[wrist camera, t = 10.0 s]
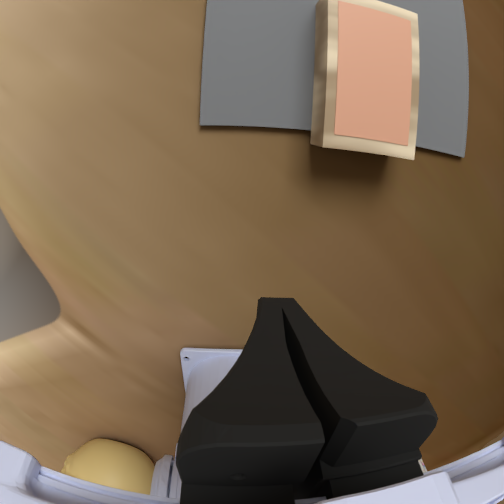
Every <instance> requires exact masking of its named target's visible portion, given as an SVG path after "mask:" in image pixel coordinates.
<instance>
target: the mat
mask: <svg viewBox="0 0 504 504" xmlns="http://www.w3.org/2000/svg"><path fill="white" fill-rule="evenodd" d="M318 1H319V0H207V9H206V20H205V33H204V47H203V63H202V82H201V104H200V125H227V126H257V127H275V128H289V129H301V130H311V124H312V106H313V86H314V62H315V20H316V4H317V2H318ZM378 1H381V2H384V3H388V4H391V5H394V6H397V7H400V8H403V9H406V10H408V11H411V12H414V13H417V14H418V30H419V106H418V122H417V135H416V146H417V147H422V148H426V149H431V150H435V151H439V152H444V153H448V154H452V155H456V156H460V157H464V156H465V146H466V135H467V121H468V98H469V69H468V47H467V34H466V24H465V15H464V7H463V1H462V0H378Z"/></svg>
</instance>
